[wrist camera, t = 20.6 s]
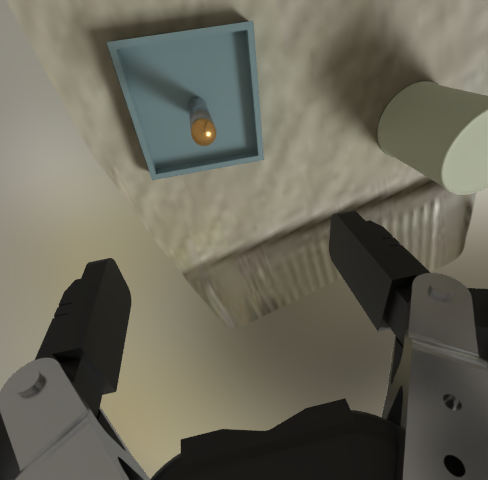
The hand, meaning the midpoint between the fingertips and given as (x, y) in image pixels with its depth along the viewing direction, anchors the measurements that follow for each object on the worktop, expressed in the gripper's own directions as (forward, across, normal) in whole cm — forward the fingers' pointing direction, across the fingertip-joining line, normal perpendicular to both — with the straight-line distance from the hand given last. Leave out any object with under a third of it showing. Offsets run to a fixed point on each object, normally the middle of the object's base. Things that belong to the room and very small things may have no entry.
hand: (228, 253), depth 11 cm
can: (+26, -26, +6) cm, 38 cm away
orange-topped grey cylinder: (+26, 0, 0) cm, 26 cm away
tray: (+26, 0, 0) cm, 26 cm away
